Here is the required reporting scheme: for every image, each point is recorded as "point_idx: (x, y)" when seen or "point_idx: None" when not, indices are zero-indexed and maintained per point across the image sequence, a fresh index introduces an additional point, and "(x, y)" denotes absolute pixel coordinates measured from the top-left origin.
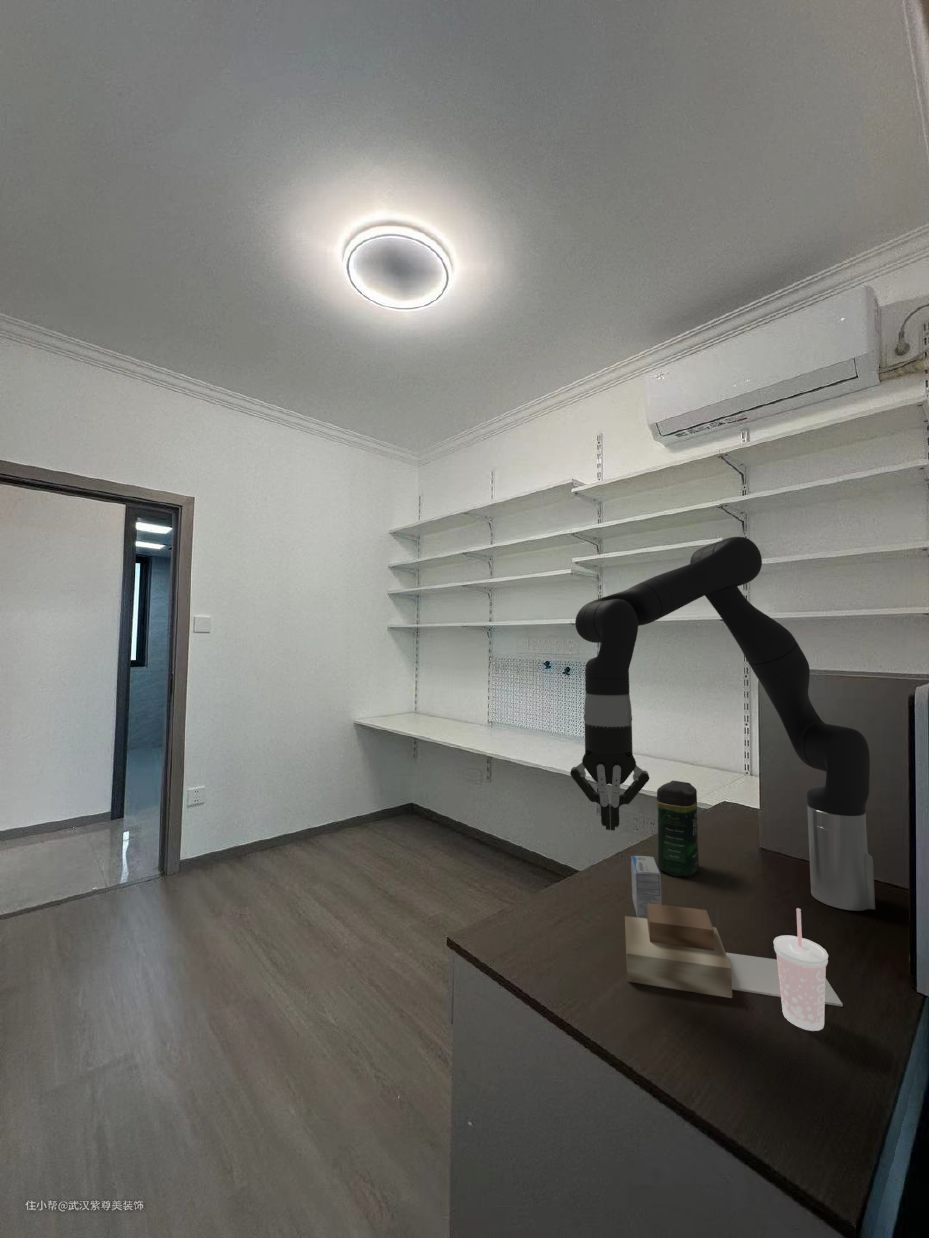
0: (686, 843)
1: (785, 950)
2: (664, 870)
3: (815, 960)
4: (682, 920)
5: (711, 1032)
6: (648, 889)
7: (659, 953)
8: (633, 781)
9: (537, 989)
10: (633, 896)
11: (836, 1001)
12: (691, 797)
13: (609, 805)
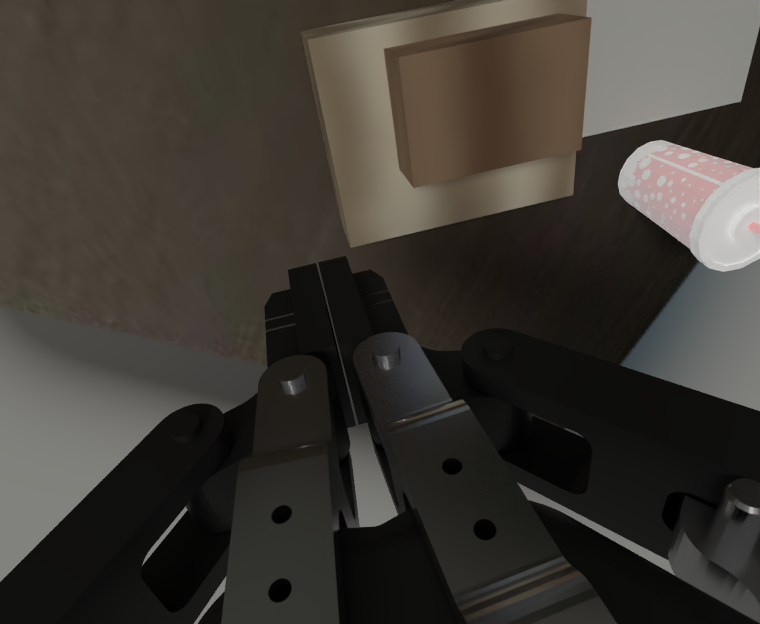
0: None
1: (711, 244)
2: None
3: (751, 258)
4: (506, 133)
5: (489, 282)
6: None
7: (424, 210)
8: (657, 446)
9: (178, 329)
10: None
11: (734, 95)
12: None
13: (344, 387)
